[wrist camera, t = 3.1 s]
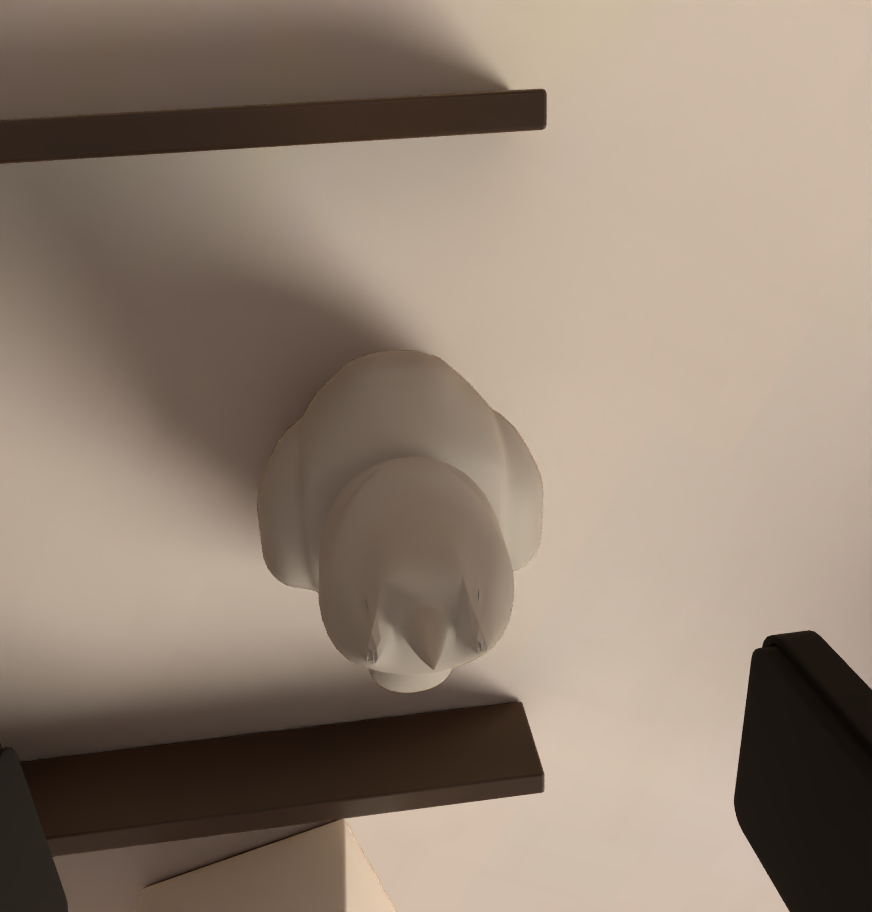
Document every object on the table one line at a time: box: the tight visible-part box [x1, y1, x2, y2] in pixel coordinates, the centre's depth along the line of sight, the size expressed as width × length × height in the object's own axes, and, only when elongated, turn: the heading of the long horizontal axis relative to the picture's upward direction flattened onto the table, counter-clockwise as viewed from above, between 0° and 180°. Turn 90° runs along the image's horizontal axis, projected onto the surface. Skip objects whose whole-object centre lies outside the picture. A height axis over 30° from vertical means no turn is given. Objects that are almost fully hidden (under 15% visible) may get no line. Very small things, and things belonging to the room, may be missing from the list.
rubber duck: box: [257, 350, 543, 693], centre depth 14 cm, size 5×7×8 cm
